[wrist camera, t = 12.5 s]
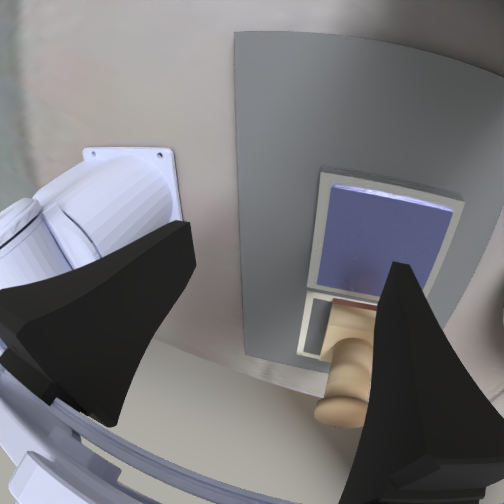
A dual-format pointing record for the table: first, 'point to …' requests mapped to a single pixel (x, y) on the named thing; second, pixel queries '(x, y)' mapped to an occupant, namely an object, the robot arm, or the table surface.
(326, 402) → the stamp
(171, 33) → the table surface
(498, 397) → the table surface
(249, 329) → the desk mat
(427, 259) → the ink pad
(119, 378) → the robot arm
